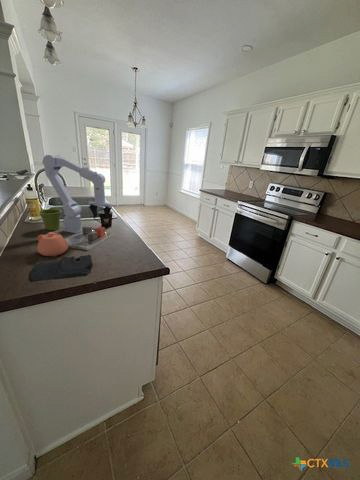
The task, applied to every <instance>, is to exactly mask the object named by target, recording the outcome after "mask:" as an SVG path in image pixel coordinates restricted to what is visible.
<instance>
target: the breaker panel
mask: <svg viewBox="0 0 360 480" xmlns="http://www.w3.org/2000/svg"><path fill="white" fill-rule="evenodd" d="M91 232H95V229H91ZM112 237H114V233H113V232H107V231H105V235H104V236H102V237H99V236H97V239H95V240H93V241H92V240H88V234H83V232H82V231H80V232H78V233H74V234H73V235H70V236H68V237H66V238H65V237H64V239H65V240H66V242H67V244H68V248H72V249H77V250H83V251H86V252H87V251H90V250H91V249H93V248H94V247H96V246H98V245H99V244H101V243H103V242H105V241H107V240H108V239H110V238H112Z"/></svg>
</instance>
